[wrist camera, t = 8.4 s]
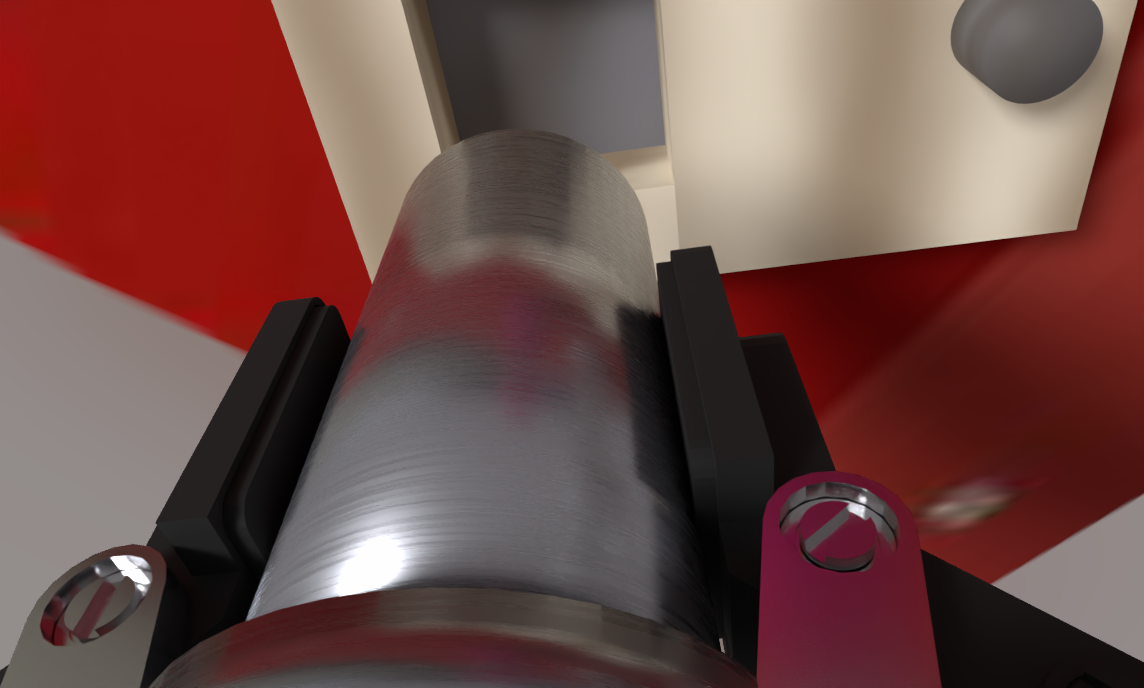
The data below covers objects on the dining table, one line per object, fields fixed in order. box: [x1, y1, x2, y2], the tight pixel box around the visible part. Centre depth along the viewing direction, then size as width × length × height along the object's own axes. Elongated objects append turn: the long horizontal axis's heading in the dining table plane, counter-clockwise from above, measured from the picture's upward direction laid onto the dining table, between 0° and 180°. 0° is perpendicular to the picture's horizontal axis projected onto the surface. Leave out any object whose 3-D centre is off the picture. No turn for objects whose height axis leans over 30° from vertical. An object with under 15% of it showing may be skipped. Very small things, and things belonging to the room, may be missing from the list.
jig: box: [271, 0, 1138, 284], centre depth 20 cm, size 20×12×5 cm, turn 98°
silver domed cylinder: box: [149, 129, 758, 688], centre depth 10 cm, size 5×5×10 cm
